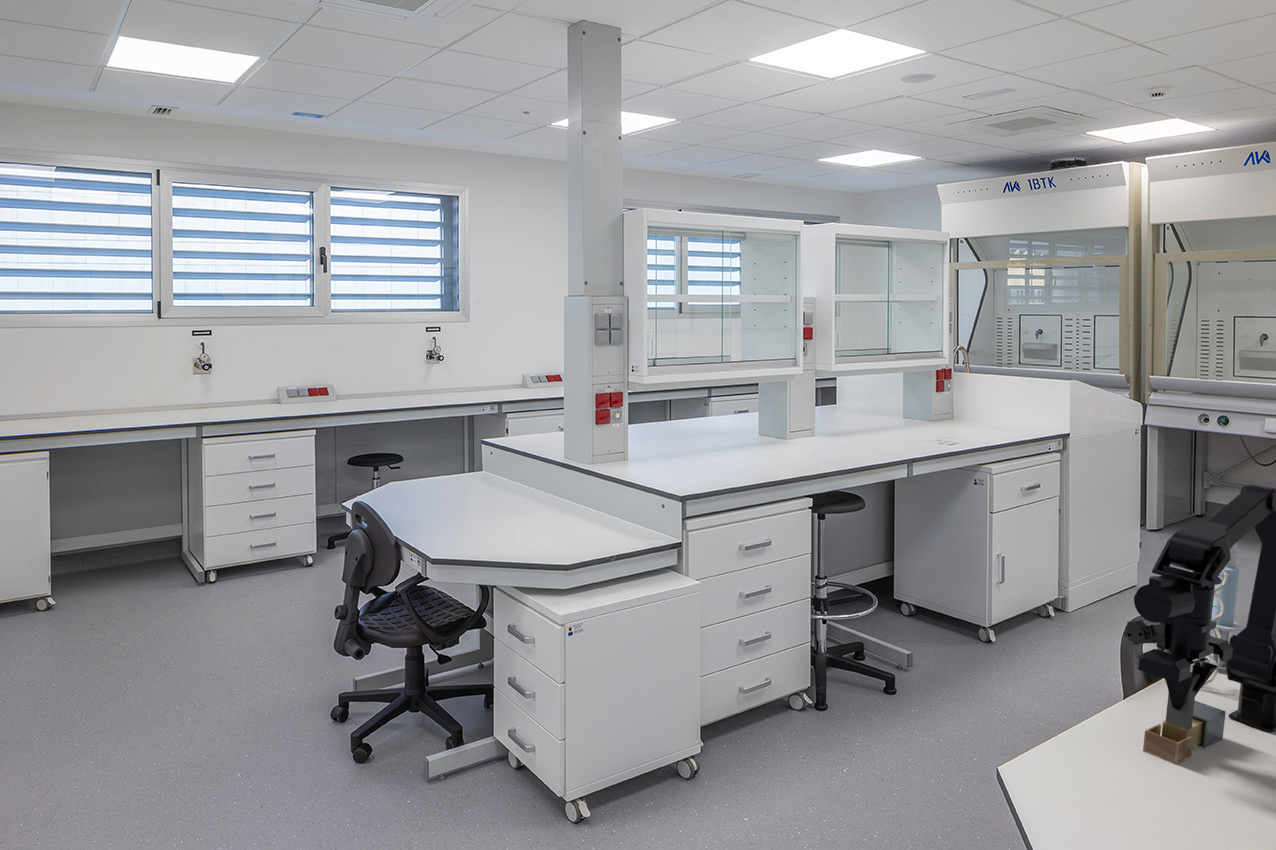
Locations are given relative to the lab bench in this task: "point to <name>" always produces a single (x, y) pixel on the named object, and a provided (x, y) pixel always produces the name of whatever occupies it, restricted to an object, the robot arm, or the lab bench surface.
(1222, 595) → the pale blue cylinder
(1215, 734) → the grey end cap
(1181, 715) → the grey and tan block
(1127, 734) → the lab bench surface
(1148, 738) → the socket
